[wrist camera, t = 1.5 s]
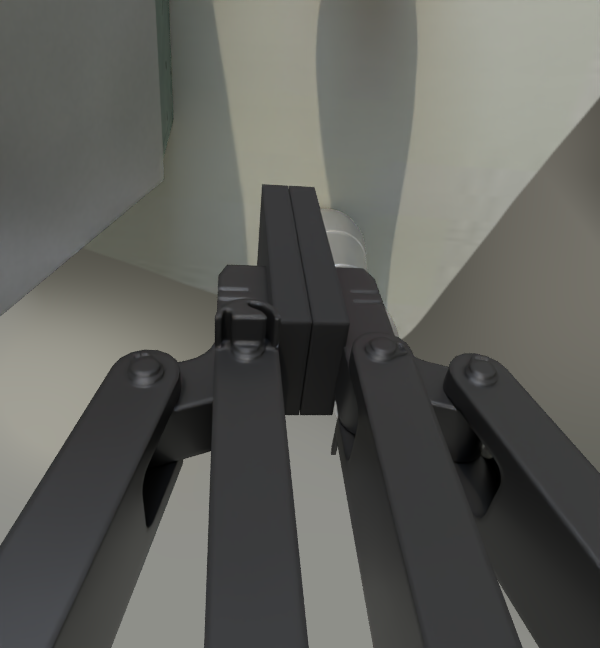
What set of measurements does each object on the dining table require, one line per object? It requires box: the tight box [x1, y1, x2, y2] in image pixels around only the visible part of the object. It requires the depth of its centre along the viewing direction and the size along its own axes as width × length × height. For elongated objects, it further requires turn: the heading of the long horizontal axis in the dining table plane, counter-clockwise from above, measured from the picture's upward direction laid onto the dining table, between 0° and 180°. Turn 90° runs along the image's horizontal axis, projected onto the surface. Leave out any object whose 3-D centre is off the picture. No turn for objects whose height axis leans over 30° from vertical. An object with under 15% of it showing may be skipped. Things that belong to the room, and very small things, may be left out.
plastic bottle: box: [320, 209, 398, 418], centre depth 40 cm, size 6×7×20 cm
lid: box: [0, 0, 164, 316], centre depth 23 cm, size 15×12×1 cm
